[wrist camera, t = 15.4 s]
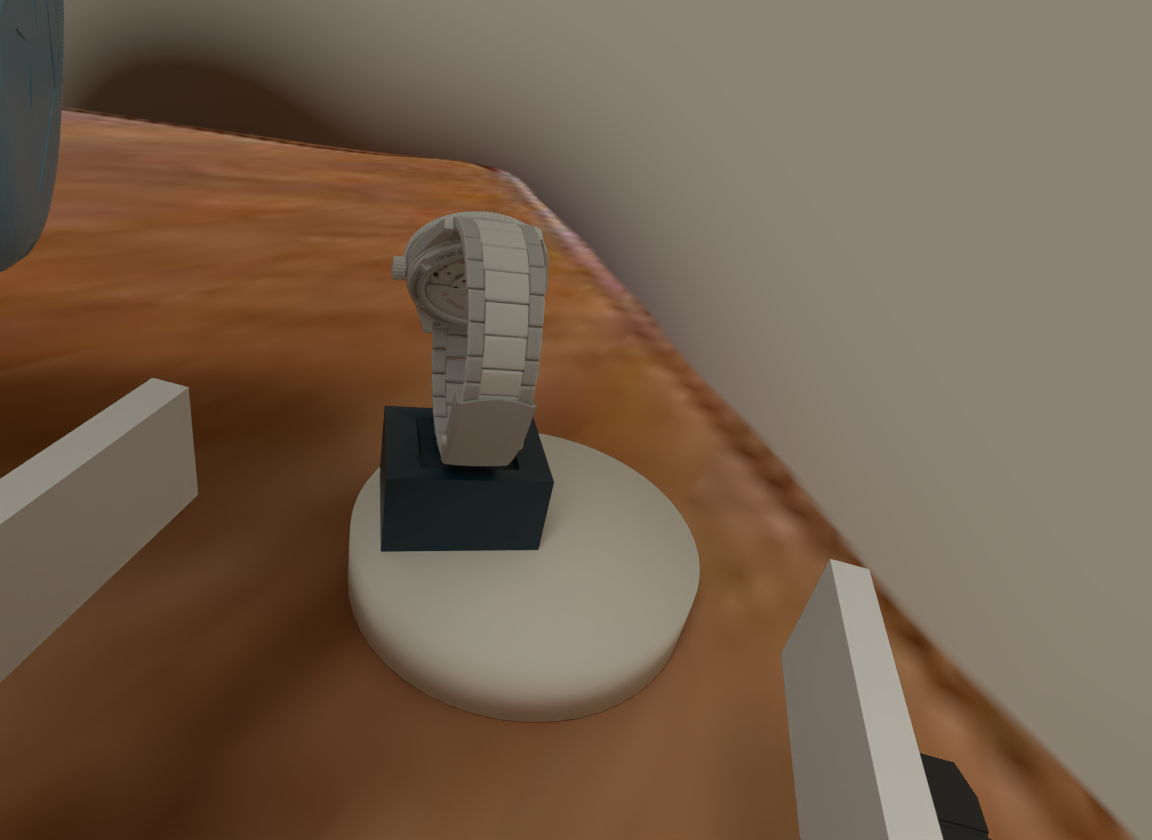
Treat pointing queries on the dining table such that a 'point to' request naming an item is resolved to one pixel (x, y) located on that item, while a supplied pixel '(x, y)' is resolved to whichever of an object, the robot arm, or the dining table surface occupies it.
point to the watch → (471, 392)
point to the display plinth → (535, 598)
